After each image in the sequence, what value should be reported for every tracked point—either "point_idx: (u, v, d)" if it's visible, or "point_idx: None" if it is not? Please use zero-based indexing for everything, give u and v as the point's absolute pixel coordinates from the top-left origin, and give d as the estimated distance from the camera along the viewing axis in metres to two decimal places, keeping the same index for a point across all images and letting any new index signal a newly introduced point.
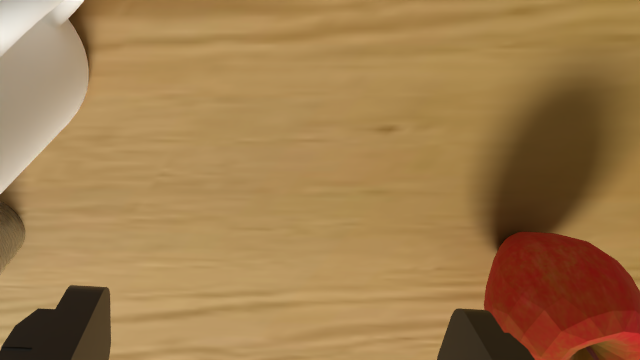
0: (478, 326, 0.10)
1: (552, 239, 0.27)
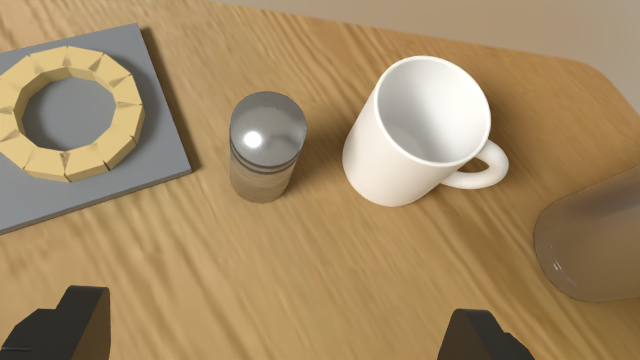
0: (478, 326, 0.10)
1: None
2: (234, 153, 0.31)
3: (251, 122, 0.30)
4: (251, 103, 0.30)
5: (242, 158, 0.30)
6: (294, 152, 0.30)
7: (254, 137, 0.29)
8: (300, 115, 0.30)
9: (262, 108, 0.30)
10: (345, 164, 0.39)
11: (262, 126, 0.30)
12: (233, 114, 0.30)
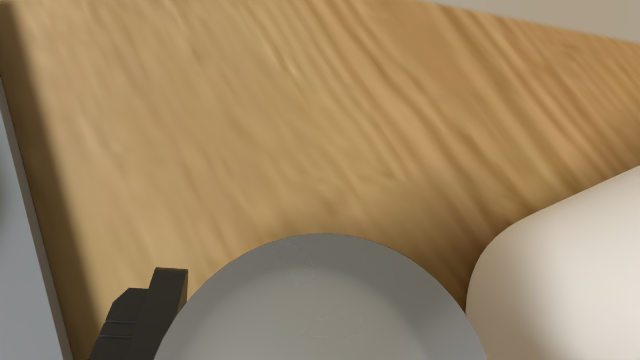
0: None
1: None
2: None
3: None
4: (248, 299, 0.06)
5: None
6: None
7: None
8: (466, 345, 0.07)
9: (300, 323, 0.06)
10: (485, 352, 0.15)
11: None
12: None
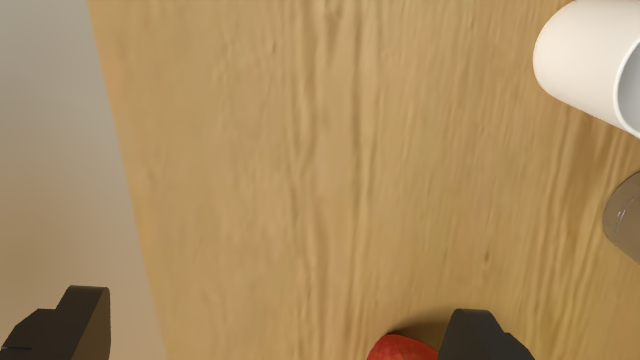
0: (478, 326, 0.10)
1: None
2: None
3: None
4: None
5: None
6: None
7: None
8: None
9: None
10: (546, 34, 0.36)
11: None
12: None
